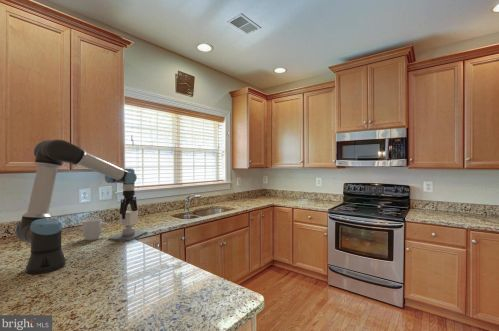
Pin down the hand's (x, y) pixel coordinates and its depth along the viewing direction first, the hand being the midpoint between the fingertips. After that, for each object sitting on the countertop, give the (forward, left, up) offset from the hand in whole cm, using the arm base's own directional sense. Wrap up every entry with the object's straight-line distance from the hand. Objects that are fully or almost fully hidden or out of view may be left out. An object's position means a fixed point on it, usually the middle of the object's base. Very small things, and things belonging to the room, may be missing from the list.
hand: (128, 221), depth 174 cm
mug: (-10, +19, -10) cm, 24 cm away
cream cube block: (0, 0, -1) cm, 1 cm away
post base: (0, 0, -10) cm, 10 cm away
